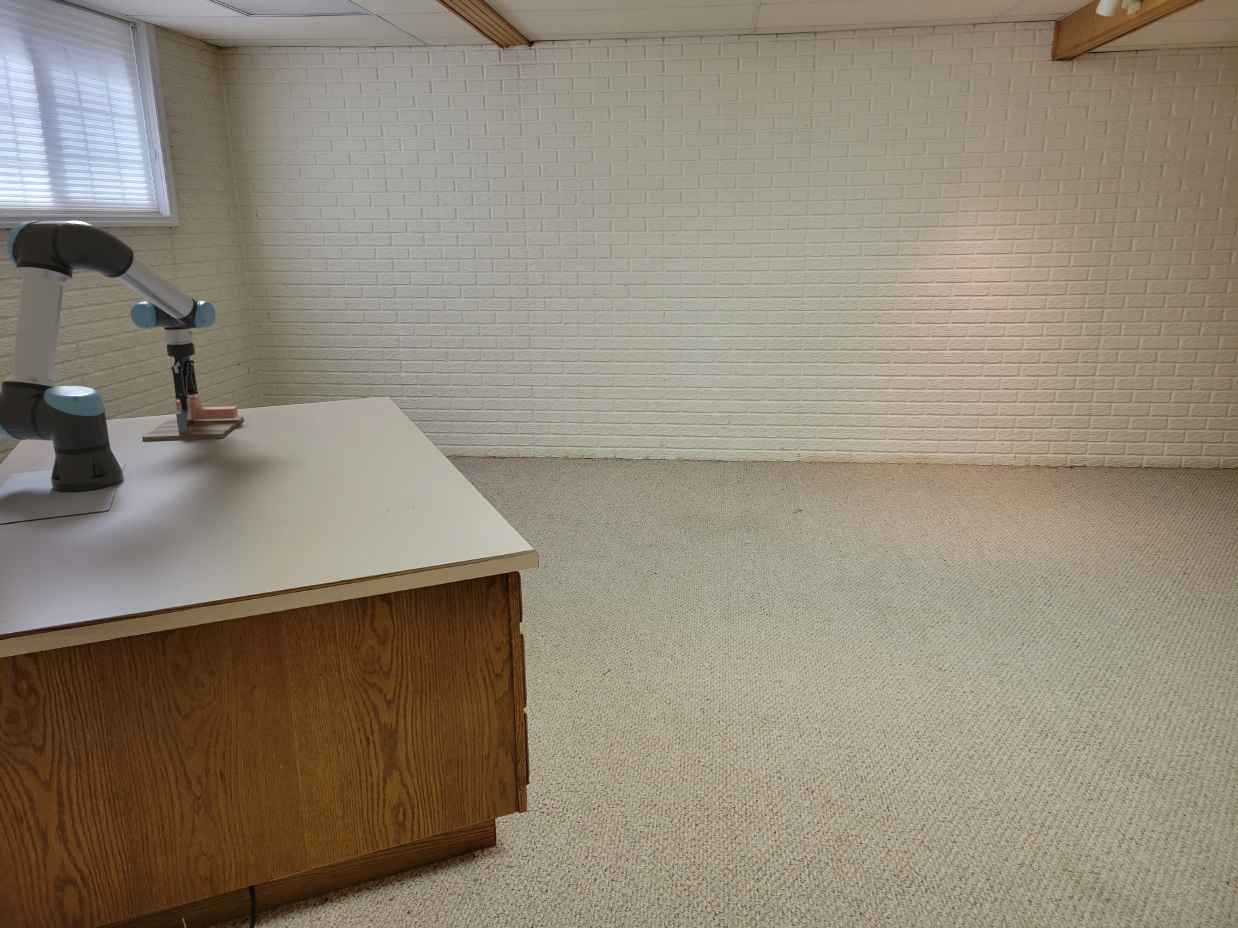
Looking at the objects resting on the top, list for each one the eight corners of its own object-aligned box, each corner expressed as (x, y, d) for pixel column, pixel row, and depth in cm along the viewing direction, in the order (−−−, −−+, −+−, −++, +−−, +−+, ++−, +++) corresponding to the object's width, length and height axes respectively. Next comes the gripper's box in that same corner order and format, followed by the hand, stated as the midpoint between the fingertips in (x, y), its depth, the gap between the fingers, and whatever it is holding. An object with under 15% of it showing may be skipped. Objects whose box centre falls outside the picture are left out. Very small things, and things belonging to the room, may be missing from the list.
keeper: (188, 437, 262) (185, 413, 260) (179, 438, 261) (176, 413, 259) (191, 433, 267) (187, 409, 265) (182, 433, 266) (178, 409, 264)
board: (222, 438, 261) (221, 434, 261) (142, 441, 258) (142, 437, 258) (243, 420, 284) (243, 416, 284) (170, 422, 281) (170, 418, 281)
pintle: (193, 426, 276) (190, 406, 274) (187, 426, 275) (184, 407, 274) (195, 425, 277) (192, 405, 276) (189, 425, 277) (186, 405, 275)
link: (238, 415, 280) (236, 396, 279) (233, 418, 275) (231, 399, 273) (184, 416, 278) (181, 398, 276) (178, 420, 273) (175, 401, 271)
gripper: (183, 346, 261) (193, 423, 267) (202, 338, 279) (211, 410, 285) (155, 347, 260) (167, 424, 266) (176, 338, 278) (186, 411, 284)
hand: (190, 417), depth 276 cm, fingers closed on link, 5 cm apart
